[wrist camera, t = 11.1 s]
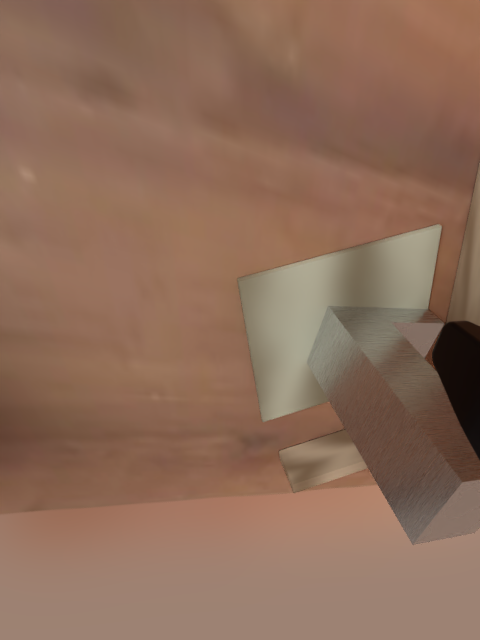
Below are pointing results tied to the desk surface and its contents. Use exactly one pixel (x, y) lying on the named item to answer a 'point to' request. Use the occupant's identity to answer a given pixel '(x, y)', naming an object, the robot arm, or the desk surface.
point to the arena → (308, 312)
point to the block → (400, 416)
